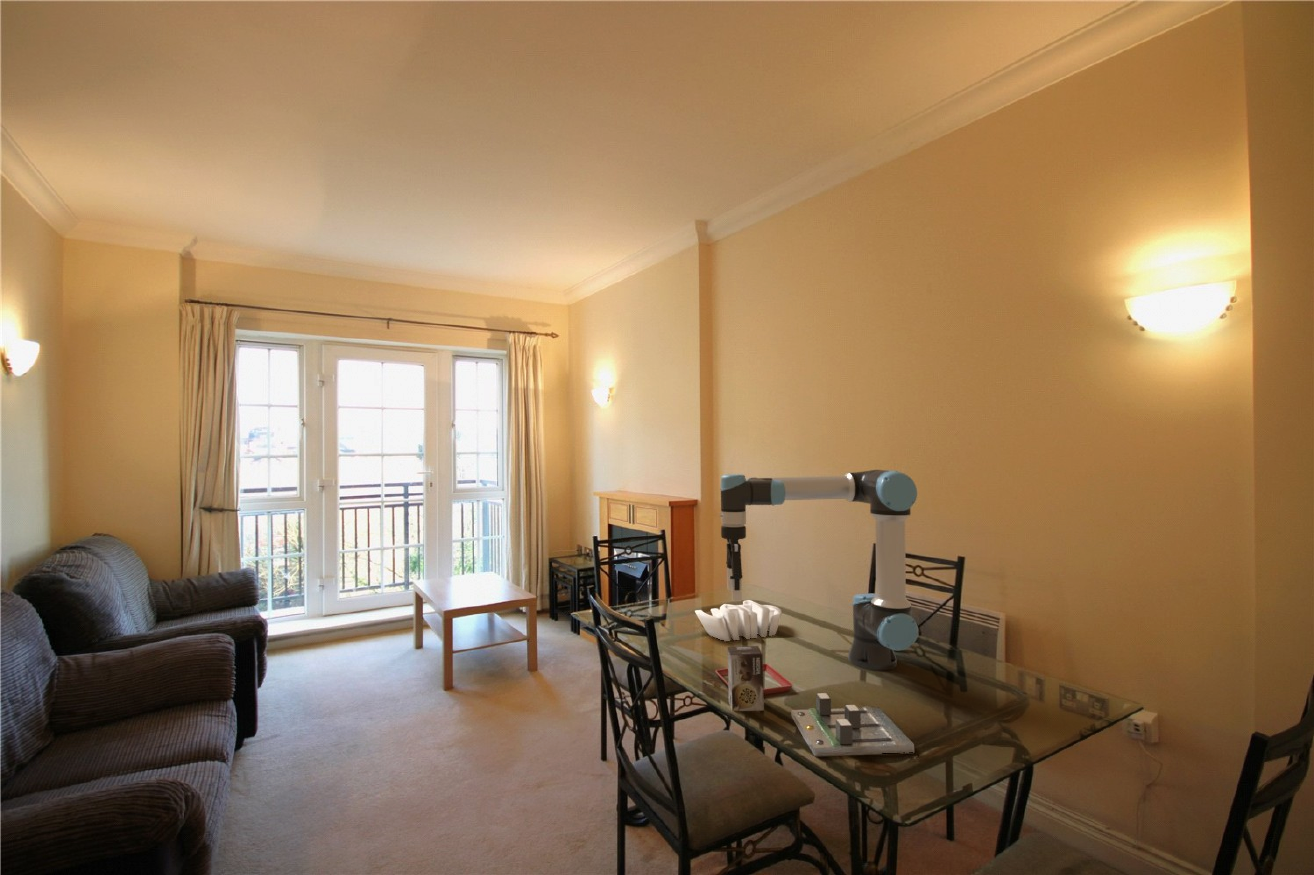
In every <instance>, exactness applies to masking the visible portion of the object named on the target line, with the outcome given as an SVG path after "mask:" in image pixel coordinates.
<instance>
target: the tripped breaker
mask: <svg viewBox="0 0 1314 875" xmlns="http://www.w3.org/2000/svg"><path fill="white" fill-rule="evenodd" d="M844 708H845V719H847V720H848V721H849V722H850V723H851V724H852V728H861V711H860V709H859V708H860V707H858V706H857V705H856V704H845V705H844Z"/></svg>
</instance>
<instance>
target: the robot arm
mask: <svg viewBox="0 0 1314 875" xmlns="http://www.w3.org/2000/svg"><path fill="white" fill-rule="evenodd" d="M720 478H721V479H720V489H719V490H720V514H719V515H718V517H719V518H720V521H721V522H720V523H721V527H720V537H721V539H724V540H726V541H727V542H726V562H725V564H726V568H727V569H726V581H727V583H726V584H727V585H726V586H727V591H731V601H732V602H743V601H742V579H743V572H742V571H743V570H742V553H741V552H742V551H741V550H742V546H741V543H739V540H744V539H747V538H746V537H747V528H746V527H747V526H745V525H746V524H747V510H746V509H747V508H746V507H747V506H776V505H777V506H778V505H783V504H784V503H785V501H804V500H805V501H806V500H807V501H808V500H809V501H810V500H812V501H814V500H844V499H845V500H846V501H847V502H849V503H851V502H854V503H855V502H857V503H864V504H868V505H869V507H870V508H869V512H870V515H871V516H872V517H873V518H874V520H875V593H870V592H869V593H858V594H855V595H854V596H853V599H852V622H853V623H852V624H853V640H852V643H851V646H850V648H849V651H848V656H847V658H848V661H849V663H851V664H852V665H853V666H856V667H858V668H861V669H865V670H870V671H890V670H893V669H895V668H896V667H897V666H898V665H897V664H898V663H897V662H898V661H897V657H896V653H895V651H899V652H900V651H904V650H907V649H908V648H910V647H911V646H912V645H913V644H915V642H916V641H917V638H918V636H919V627H918V624H917V622H916V620H915V618H913V617H912V604H911V602H910V601H909V600H908V598H906V596H907V591H906V587H907V586H906V576H907V575H906V572H907V571H906V521H907V519H908V518H909V517H910V516H911V513H912V512H911V508H912V507H913V505H914V504H916V501H917V499H918V498H917V497H918V488H917V486H916V483H915V481H914V480H913V479H912V478H911V477H910V476H909V475H907V474H906V473H905V472H904V473H903V472H900V471H898V470H885V469H884V470H883V469H871V470H865V471H857V472H856V471H855V472H854V471H853V472H846V473H845V474H844V475H834V476H833V475H829V476H825V475H824V476H792V477H789V476H788V477H783V476H782V477H763V478H762V477H749V478H746V475H745V474H740V473H738V474H733V473H732V474H731V473H730V474H729V473H728V474H723V475H722V476H721V477H720Z"/></svg>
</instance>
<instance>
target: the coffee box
mask: <svg viewBox="0 0 1314 875" xmlns="http://www.w3.org/2000/svg"><path fill="white" fill-rule="evenodd" d="M763 659H764V658H763V652H762V650H761V648H760V646H758V645H755V646H754V645H750V646H745V645H744V646H727V669H728V675H727V676H728V677H727V679H728V680H727V682H728V686H727V687H728V688H727V689H728V704H729V706H730V709H731V711H732V712H751V711H752V712H754V711H755V712H757V711H765V704H764V703H765V700H764V693H763V689H764V671H763V664H764V660H763Z"/></svg>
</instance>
